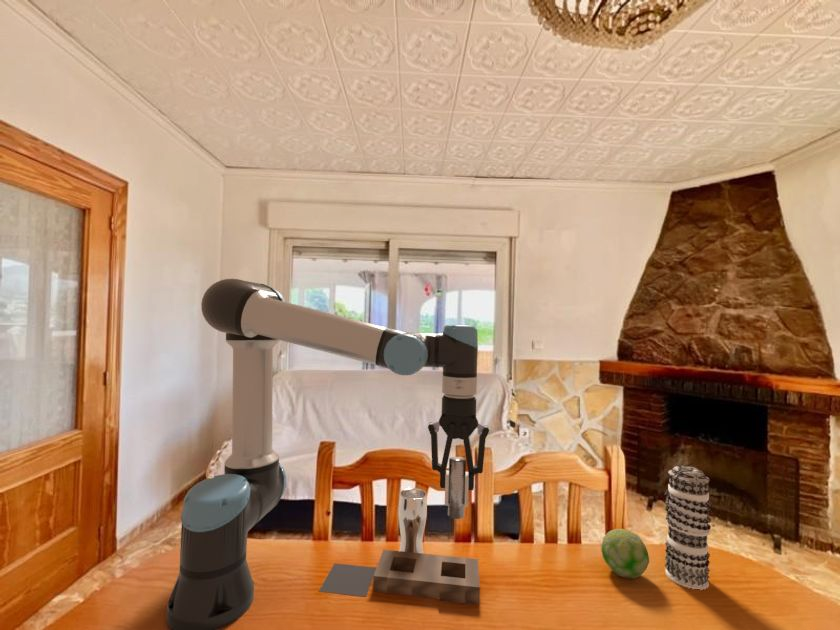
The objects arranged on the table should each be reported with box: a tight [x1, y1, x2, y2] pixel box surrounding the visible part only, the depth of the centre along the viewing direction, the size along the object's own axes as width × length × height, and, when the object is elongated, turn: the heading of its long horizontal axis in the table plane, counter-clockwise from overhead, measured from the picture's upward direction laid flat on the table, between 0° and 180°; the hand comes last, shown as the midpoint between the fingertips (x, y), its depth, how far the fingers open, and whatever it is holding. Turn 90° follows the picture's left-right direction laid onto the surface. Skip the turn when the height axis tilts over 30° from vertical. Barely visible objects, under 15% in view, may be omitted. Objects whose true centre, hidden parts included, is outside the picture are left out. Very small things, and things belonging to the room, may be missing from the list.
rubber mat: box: [318, 562, 377, 598], centre depth 88 cm, size 10×10×1 cm
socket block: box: [372, 549, 481, 606], centre depth 88 cm, size 22×10×4 cm, turn 84°
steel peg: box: [447, 456, 467, 520], centre depth 87 cm, size 4×4×12 cm
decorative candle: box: [664, 465, 713, 591], centre depth 93 cm, size 9×9×25 cm
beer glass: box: [398, 487, 428, 554], centre depth 98 cm, size 7×7×15 cm
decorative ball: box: [600, 528, 650, 579], centre depth 94 cm, size 10×10×10 cm
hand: (456, 503), depth 87 cm, fingers closed on steel peg, 3 cm apart
